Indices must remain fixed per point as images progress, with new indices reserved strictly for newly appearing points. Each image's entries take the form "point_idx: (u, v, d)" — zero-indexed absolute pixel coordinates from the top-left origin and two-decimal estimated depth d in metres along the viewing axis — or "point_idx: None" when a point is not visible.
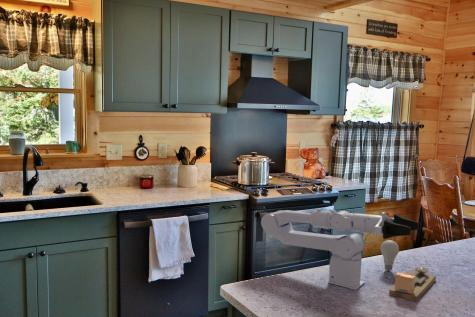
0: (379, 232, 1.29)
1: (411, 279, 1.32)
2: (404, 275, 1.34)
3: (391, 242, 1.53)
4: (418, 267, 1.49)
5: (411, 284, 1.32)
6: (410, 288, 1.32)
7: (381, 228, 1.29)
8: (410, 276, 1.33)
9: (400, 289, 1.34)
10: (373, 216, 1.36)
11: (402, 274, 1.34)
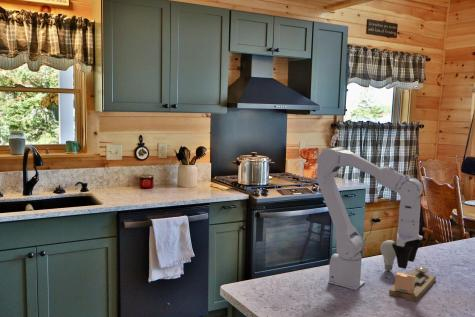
0: (398, 244, 1.27)
1: (411, 279, 1.32)
2: (404, 275, 1.34)
3: (391, 242, 1.53)
4: (418, 267, 1.49)
5: (411, 284, 1.32)
6: (410, 288, 1.32)
7: None
8: (410, 276, 1.33)
9: (400, 289, 1.34)
10: (416, 228, 1.30)
11: (402, 274, 1.34)
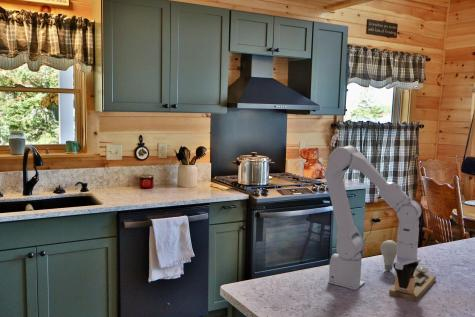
0: (396, 267, 1.28)
1: (411, 279, 1.32)
2: None
3: (391, 242, 1.53)
4: (418, 267, 1.49)
5: (411, 284, 1.32)
6: (410, 288, 1.32)
7: None
8: (410, 276, 1.33)
9: (400, 289, 1.34)
10: (415, 250, 1.31)
11: None
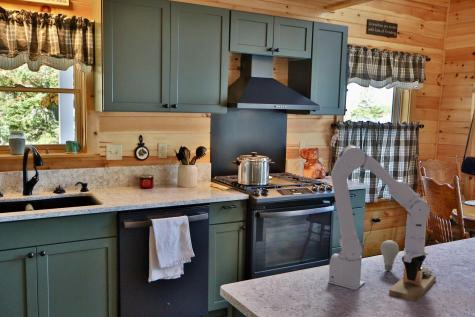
0: (405, 260, 1.34)
1: (419, 272, 1.38)
2: None
3: (391, 242, 1.53)
4: None
5: (419, 276, 1.38)
6: (418, 280, 1.38)
7: (409, 261, 1.34)
8: (418, 269, 1.39)
9: (408, 281, 1.40)
10: (422, 244, 1.37)
11: None
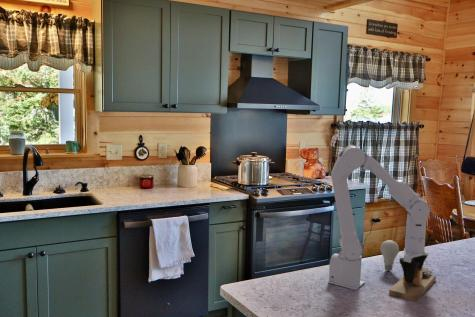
0: (405, 260, 1.34)
1: (419, 272, 1.38)
2: None
3: (391, 242, 1.53)
4: None
5: (419, 276, 1.38)
6: (418, 280, 1.38)
7: (409, 261, 1.34)
8: (418, 269, 1.39)
9: None
10: (422, 244, 1.37)
11: None
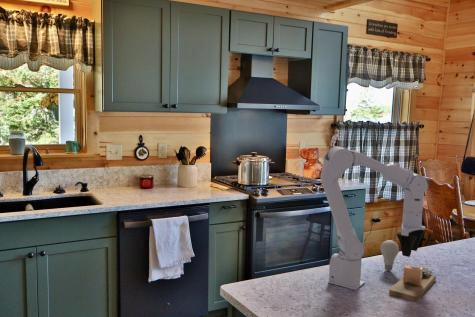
0: (402, 233, 1.37)
1: (419, 272, 1.38)
2: (412, 268, 1.40)
3: (391, 242, 1.53)
4: (418, 267, 1.49)
5: (419, 276, 1.38)
6: (418, 280, 1.38)
7: None
8: (418, 269, 1.39)
9: (408, 281, 1.40)
10: (420, 219, 1.39)
11: (410, 267, 1.41)
